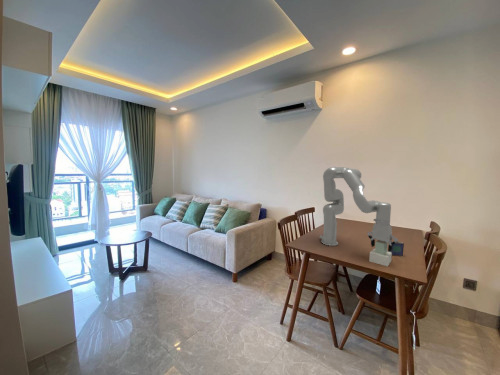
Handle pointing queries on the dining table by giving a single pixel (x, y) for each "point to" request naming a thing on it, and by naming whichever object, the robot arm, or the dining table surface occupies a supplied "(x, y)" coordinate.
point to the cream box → (380, 258)
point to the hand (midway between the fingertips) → (381, 248)
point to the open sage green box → (381, 247)
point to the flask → (397, 249)
